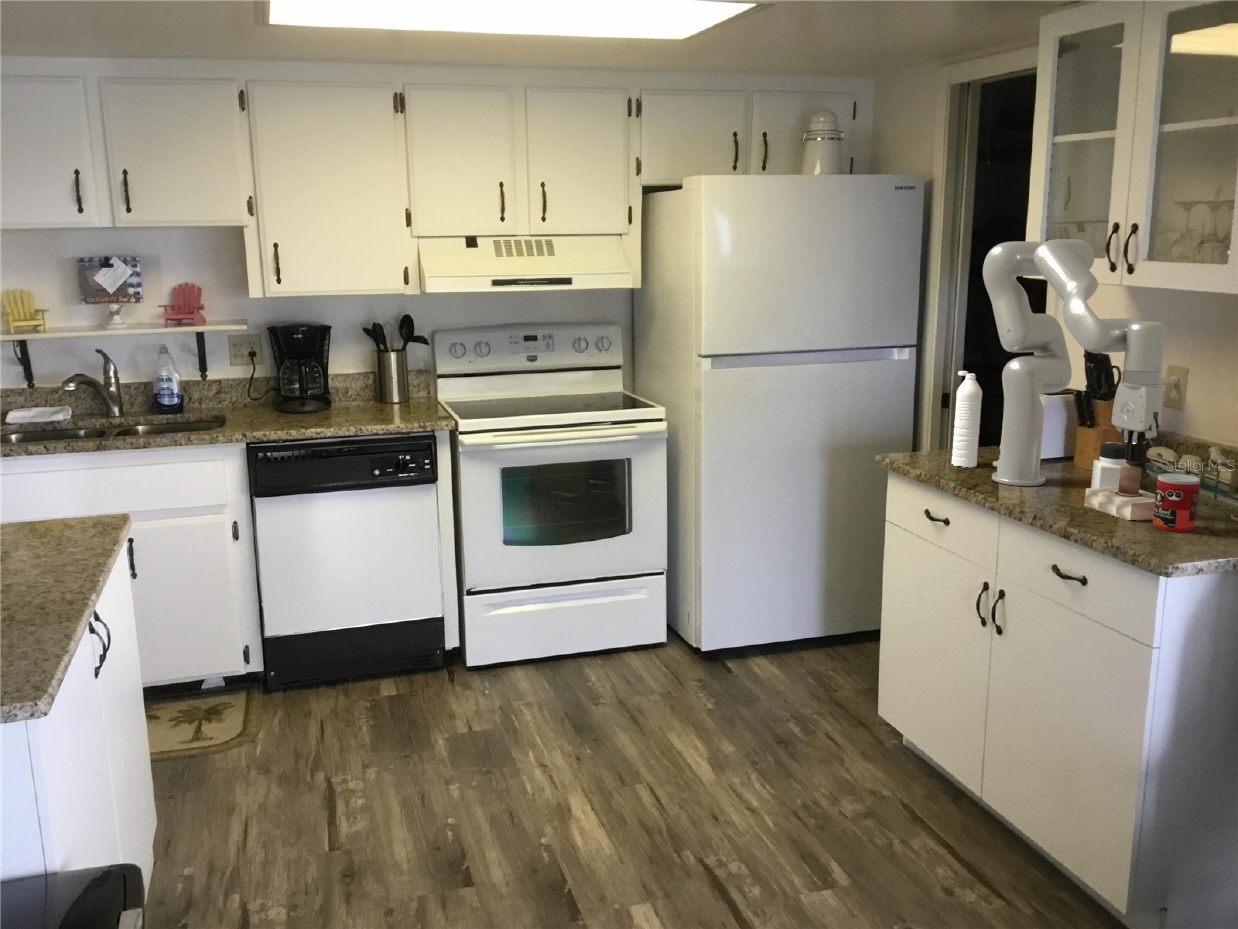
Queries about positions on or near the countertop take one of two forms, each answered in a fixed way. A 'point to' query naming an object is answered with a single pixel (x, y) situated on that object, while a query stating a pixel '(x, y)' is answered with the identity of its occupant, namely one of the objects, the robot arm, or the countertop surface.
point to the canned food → (1176, 502)
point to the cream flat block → (1121, 503)
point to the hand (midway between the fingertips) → (1132, 460)
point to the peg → (1129, 481)
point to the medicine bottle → (1108, 465)
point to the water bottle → (967, 422)
